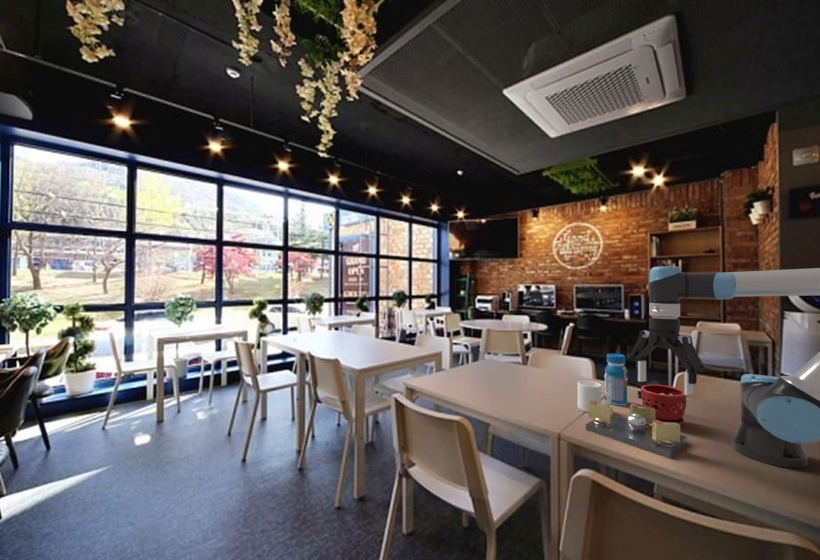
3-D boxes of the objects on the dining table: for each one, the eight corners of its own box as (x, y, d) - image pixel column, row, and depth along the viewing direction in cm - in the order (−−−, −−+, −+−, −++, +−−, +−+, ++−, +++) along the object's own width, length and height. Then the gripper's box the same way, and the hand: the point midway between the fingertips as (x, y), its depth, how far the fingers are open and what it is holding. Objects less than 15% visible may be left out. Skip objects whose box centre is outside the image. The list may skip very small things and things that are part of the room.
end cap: (657, 402, 145) (657, 386, 145) (637, 398, 150) (637, 382, 150) (661, 396, 152) (661, 381, 152) (642, 393, 157) (642, 378, 157)
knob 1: (613, 424, 117) (613, 405, 117) (608, 426, 115) (608, 407, 115) (592, 417, 123) (592, 399, 123) (587, 419, 121) (587, 401, 121)
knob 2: (674, 440, 105) (674, 419, 105) (681, 445, 102) (681, 424, 102) (650, 439, 105) (650, 419, 105) (657, 444, 102) (657, 423, 102)
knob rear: (652, 423, 117) (652, 405, 117) (656, 427, 114) (656, 408, 114) (629, 421, 120) (629, 402, 120) (632, 424, 117) (632, 406, 117)
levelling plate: (688, 442, 109) (688, 420, 109) (670, 458, 99) (670, 434, 99) (607, 418, 128) (607, 399, 128) (585, 429, 118) (585, 409, 118)
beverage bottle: (611, 406, 140) (611, 357, 140) (600, 398, 149) (600, 352, 149) (632, 406, 140) (632, 357, 140) (620, 399, 149) (620, 352, 149)
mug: (614, 412, 133) (614, 386, 133) (606, 418, 128) (606, 390, 128) (582, 404, 142) (583, 379, 142) (574, 409, 137) (574, 383, 137)
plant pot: (649, 412, 134) (649, 381, 134) (691, 424, 123) (691, 390, 123) (634, 420, 126) (634, 387, 126) (677, 433, 115) (677, 397, 115)
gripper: (617, 313, 115) (617, 377, 115) (703, 322, 91) (703, 402, 91) (633, 313, 117) (633, 375, 117) (721, 321, 94) (720, 399, 94)
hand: (664, 387), depth 104 cm, fingers open, 13 cm apart
